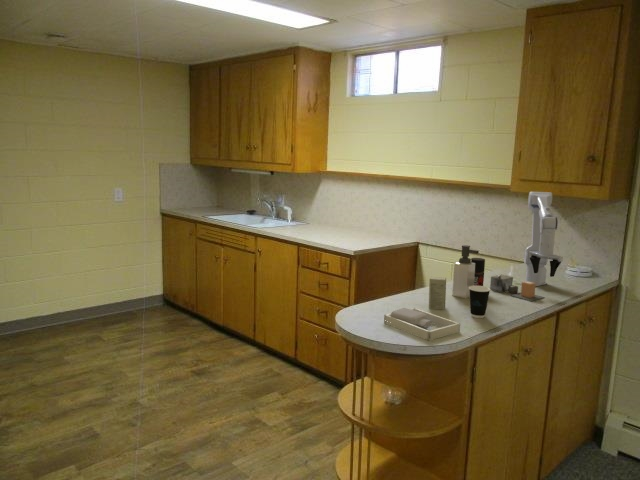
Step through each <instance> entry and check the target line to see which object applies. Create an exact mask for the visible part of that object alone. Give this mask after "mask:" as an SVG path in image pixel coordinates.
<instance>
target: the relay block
mask: <svg viewBox="0 0 640 480" xmlns="http://www.w3.org/2000/svg"><path fill="white" fill-rule="evenodd" d="M525 281H526V280H525ZM535 285H536V283H533V282H528V281H526V282H524V281H521V288H520V289H521V290H520V293H521V296H524V297H527V298H531V297H534V296H535V295H536V293H535V292H536V286H535Z"/></svg>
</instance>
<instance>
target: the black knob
mask: <svg viewBox="0 0 640 480" xmlns="http://www.w3.org/2000/svg"><path fill="white" fill-rule="evenodd" d="M507 292H508V294H511V295H514V294H518V293H519V286H518V285H514V284H512V285H509V289H508V291H507Z"/></svg>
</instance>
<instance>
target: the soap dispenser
mask: <svg viewBox="0 0 640 480" xmlns="http://www.w3.org/2000/svg"><path fill="white" fill-rule="evenodd" d="M470 248H471V245H466V244H462V245H461V257H460V258H459V259H458V261H456V262H454V263H453V276H452V277H453V278H452V296H454V297H457V298H462V299H467V298H470V289H469V287H470V286H474V275H475V263H472V262H471V258H470V254H476V255H478V254H479V251H480V250H478V249H477V250H476V249H470Z"/></svg>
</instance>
